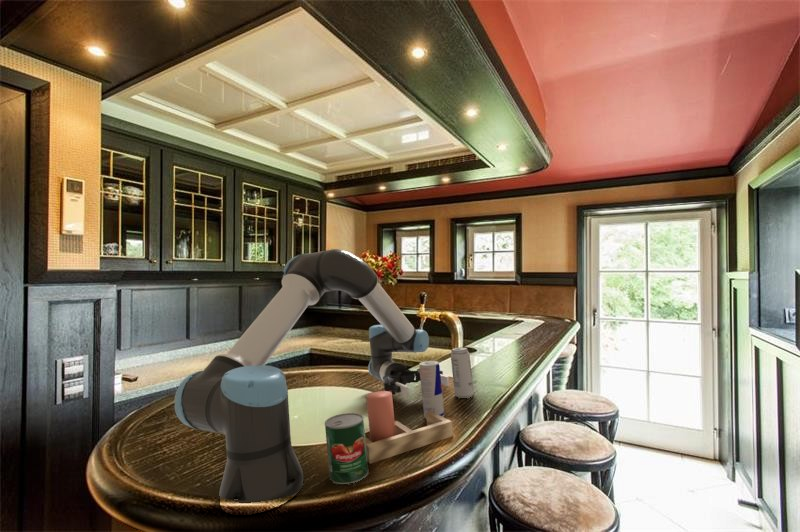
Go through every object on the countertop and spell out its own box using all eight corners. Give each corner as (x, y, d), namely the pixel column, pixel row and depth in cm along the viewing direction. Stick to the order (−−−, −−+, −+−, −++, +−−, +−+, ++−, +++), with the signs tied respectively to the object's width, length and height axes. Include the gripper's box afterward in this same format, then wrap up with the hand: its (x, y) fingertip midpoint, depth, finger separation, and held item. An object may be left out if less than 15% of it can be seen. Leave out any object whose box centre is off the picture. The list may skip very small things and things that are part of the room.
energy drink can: (475, 398, 115) (470, 349, 116) (456, 400, 115) (451, 351, 116) (472, 392, 121) (467, 346, 122) (453, 394, 122) (449, 348, 122)
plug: (377, 455, 83) (372, 400, 83) (367, 446, 88) (362, 395, 89) (401, 447, 86) (396, 394, 86) (390, 439, 91) (385, 389, 91)
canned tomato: (353, 461, 81) (349, 410, 82) (376, 472, 75) (371, 417, 76) (321, 476, 76) (317, 421, 76) (343, 489, 70) (338, 430, 71)
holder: (370, 463, 79) (368, 446, 79) (354, 448, 88) (353, 433, 88) (453, 436, 89) (451, 421, 89) (432, 424, 98) (430, 411, 98)
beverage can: (443, 421, 99) (438, 364, 100) (422, 421, 100) (417, 365, 101) (445, 413, 105) (440, 359, 106) (425, 414, 106) (420, 360, 107)
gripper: (427, 377, 130) (465, 390, 111) (361, 393, 118) (390, 410, 100) (425, 356, 130) (462, 364, 112) (358, 369, 119) (387, 382, 100)
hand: (428, 386), depth 106 cm, fingers open, 13 cm apart
